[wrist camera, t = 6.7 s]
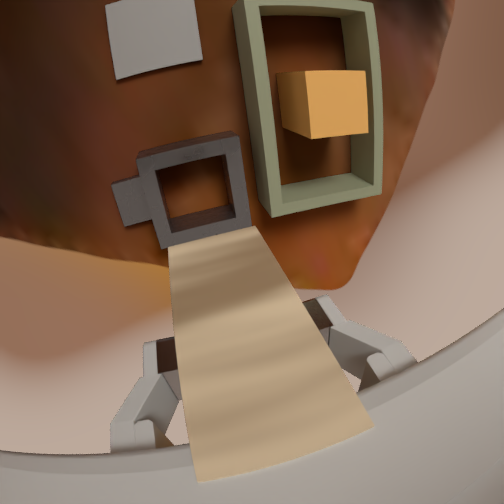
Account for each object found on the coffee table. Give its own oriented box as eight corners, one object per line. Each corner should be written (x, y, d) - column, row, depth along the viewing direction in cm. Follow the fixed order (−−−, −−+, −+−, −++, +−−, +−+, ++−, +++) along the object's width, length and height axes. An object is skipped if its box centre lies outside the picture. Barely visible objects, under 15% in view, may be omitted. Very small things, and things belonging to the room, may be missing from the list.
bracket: (106, 161, 23) (99, 170, 20) (231, 130, 24) (238, 135, 22) (131, 241, 27) (129, 257, 24) (243, 213, 29) (252, 226, 26)
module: (275, 73, 23) (304, 71, 18) (327, 70, 23) (365, 70, 18) (282, 127, 25) (311, 139, 20) (331, 121, 26) (368, 132, 21)
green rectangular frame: (231, 7, 19) (243, -6, 15) (348, 9, 20) (372, 3, 17) (258, 200, 28) (271, 217, 25) (359, 180, 30) (381, 193, 27)
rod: (167, 247, 13) (197, 481, 5) (255, 225, 14) (374, 425, 5) (189, 312, 15) (231, 507, 7) (264, 293, 16) (349, 469, 8)
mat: (106, 6, 16) (105, 5, 15) (191, -13, 17) (191, -15, 16) (117, 79, 20) (116, 79, 19) (202, 59, 21) (202, 59, 20)
